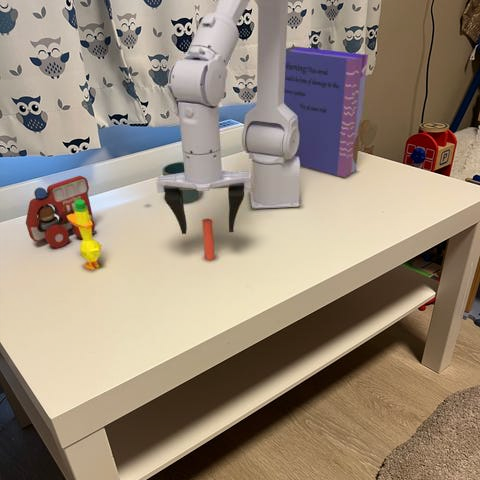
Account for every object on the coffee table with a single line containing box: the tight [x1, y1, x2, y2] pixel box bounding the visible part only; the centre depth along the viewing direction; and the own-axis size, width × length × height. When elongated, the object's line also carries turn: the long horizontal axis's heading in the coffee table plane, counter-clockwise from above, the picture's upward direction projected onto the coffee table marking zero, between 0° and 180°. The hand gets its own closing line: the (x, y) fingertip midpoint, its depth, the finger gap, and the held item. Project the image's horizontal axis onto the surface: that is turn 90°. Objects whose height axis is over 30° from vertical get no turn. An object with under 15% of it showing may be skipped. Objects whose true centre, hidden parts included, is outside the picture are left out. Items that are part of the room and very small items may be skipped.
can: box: [162, 161, 202, 204], centre depth 108 cm, size 7×7×6 cm
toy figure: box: [67, 199, 103, 271], centre depth 85 cm, size 7×4×12 cm, turn 49°
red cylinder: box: [201, 218, 216, 261], centre depth 87 cm, size 2×2×7 cm
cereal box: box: [284, 46, 369, 179], centre depth 114 cm, size 17×5×24 cm, turn 49°
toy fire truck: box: [25, 175, 96, 249], centre depth 94 cm, size 7×12×10 cm, turn 130°
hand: (207, 230), depth 86 cm, fingers open, 7 cm apart
